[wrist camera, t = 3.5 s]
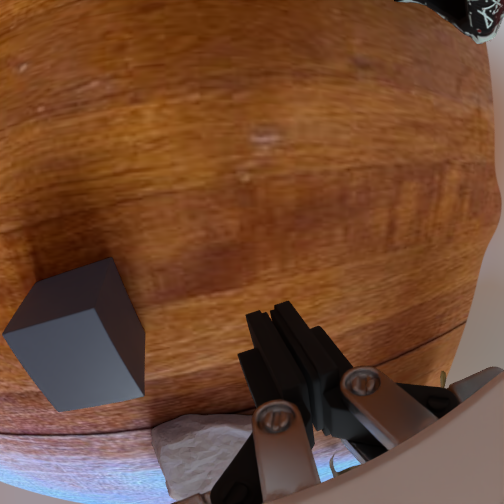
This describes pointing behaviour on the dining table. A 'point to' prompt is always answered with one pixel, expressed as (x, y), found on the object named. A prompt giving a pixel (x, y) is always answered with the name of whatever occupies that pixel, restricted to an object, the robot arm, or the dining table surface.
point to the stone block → (198, 450)
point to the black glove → (469, 15)
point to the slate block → (80, 338)
